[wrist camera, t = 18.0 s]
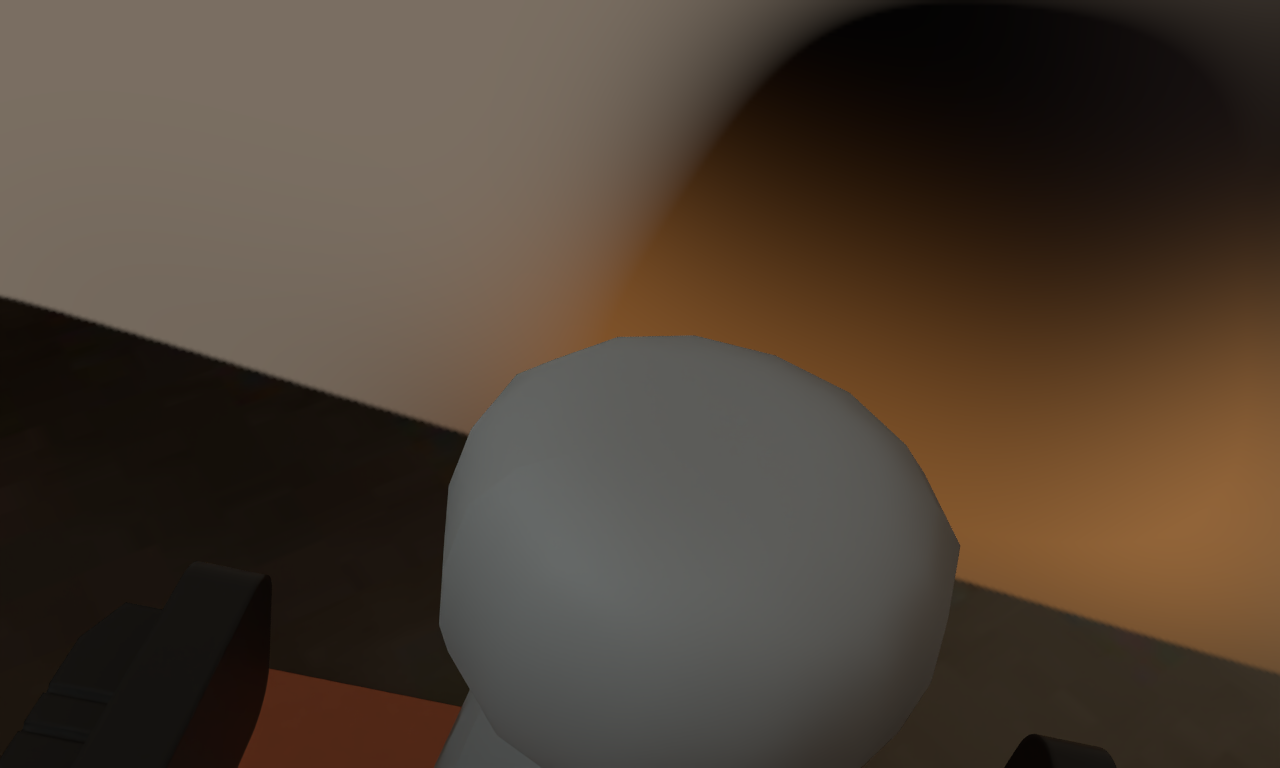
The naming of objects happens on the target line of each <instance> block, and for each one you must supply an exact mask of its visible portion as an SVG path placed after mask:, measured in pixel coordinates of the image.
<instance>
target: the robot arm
mask: <svg viewBox="0 0 1280 768" xmlns="http://www.w3.org/2000/svg"><path fill="white" fill-rule="evenodd" d="M271 596H272V583H271V578H270V576H269V575H264V574H259V573H255V572H250V571H245V570H240V569H235V568H230V567H225V566H220V565H215V564H210V563H205V562H200V561H195V562H193V563H192V564H191V565H190V566H189V567H188V568H187V570H186V571H185V573H184V574H183V576H182V577H181V579H180V581H179V582H178V584H177V586H176V588H175V589H174V591H173V593H172V594H171V596H170V598H169V600H168V601H167V603H166V605H165V606H164V608H163V610H162V609H157V608H152V607H147V606H142V605H137V604H132V603H127V602H126V603H125V604H123V605H122V606H121V607H119V608H118V609H117V610H115V611H114V612H113V613H111V614H110V615H109V616H107V617H106V618H105V619H103V620H102V621H101V622H99V623H98V624H97V625H95V626H94V627H93V628H91V629H90V630H89V631H87V632H86V633H85V634H83V635H82V636H81V637H79V638H78V640H77V642H76V643H75V645H74V646H73V648H72V649H71V651H70V652H69V654H68V655H67V657H66V658H65V660H64V661H63V663H62V665H61V666H60V668H59V669H58V671H57V672H56V674H55V675H54V677H53V678H52V680H51V681H50V683H49V688H48V690H47V692H46V693H43V694H42V695H41V697H40V698H39V700H38V701H37V703H36V704H35V706H34V707H33V709H32V711H31V712H30V714H29V715H28V717H27V718H26V720H25V721H24V727H23V729H22V731H21V732H20V731H18V732H17V734H16V735H15V737H14V738H13V740H12V741H11V743H10V744H9V746H8V747H7V749H6V750H5V752H4V753H3V755H2V757H1V758H0V768H238V766H239V764H240V761H241V759H242V757H243V754H244V752H245V750H246V748H247V745H248V743H249V741H250V738H251V736H252V734H253V731H254V729H255V726H256V723H257V721H258V717H259V714H260V711H261V708H262V704H263V700H264V697H265V692H266V687H267V682H268V675H269V654H270V625H271ZM1004 768H1116V765H1115V763H1114V761H1113V759H1112V757H1111V756H1110V754H1109V753H1108V752H1107V751H1106V750H1104V749H1103V748H1100V747H1096V746H1091V745H1086V744H1081V743H1076V742H1071V741H1066V740H1061V739H1056V738H1052V737H1047V736H1042V735H1037V734H1030V735H1028V736H1027V737H1025V738H1024V739H1023V740H1022V741H1021V743H1020V744H1019V746H1018V747H1017V749H1016V750H1015V752H1014V753H1013V755H1012V756H1011V758H1010V760H1009V761H1008V763H1007V764H1006V766H1005V767H1004Z"/></svg>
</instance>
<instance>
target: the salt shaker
mask: <svg viewBox="0 0 1280 768" xmlns="http://www.w3.org/2000/svg"><path fill="white" fill-rule="evenodd" d="M959 550H960V544H959V542H958V540H957V538H956V536H955V534H954V532H953V530H952V528H951V526H950V524H949V522H948V520H947V518H946V516H945V514H944V512H943V510H942V508H941V506H940V504H939V502H938V500H937V498H936V496H935V494H934V492H933V490H932V488H931V486H930V484H929V482H928V480H927V478H926V476H925V474H924V472H923V471H922V469H921V468H920V466H919V464H918V463H917V461H916V460H915V458H914V457H913V455H912V454H911V452H910V451H909V449H908V447H907V446H906V445H905V444H904V443H903V442H902V441H901V440H900V439H899V438H898V437H897V436H896V435H895V434H894V433H892V432H891V431H890V430H889V429H888V428H887V427H886V426H885V425H884V424H883V423H882V422H881V421H880V420H878V419H877V418H876V417H875V416H874V415H873V414H872V413H871V412H870V411H869V410H867V409H866V408H865V407H864V406H863V405H862V404H861V403H860V402H859V401H858V400H857V399H856V398H855V397H853V396H852V395H851V394H850V393H849V392H847V391H845V390H843V389H841V388H839V387H837V386H835V385H833V384H831V383H829V382H827V381H825V380H823V379H821V378H819V377H817V376H815V375H813V374H811V373H809V372H807V371H805V370H803V369H801V368H799V367H797V366H795V365H793V364H791V363H789V362H787V361H785V360H783V359H781V358H779V357H777V356H775V355H771V354H767V353H762V352H759V351H755V350H751V349H746V348H742V347H738V346H734V345H731V344H727V343H722V342H719V341H714V340H710V339H707V338H703V337H698V336H652V337H651V336H648V337H617V338H614V339H611V340H608V341H605V342H602V343H600V344H597V345H594V346H591V347H588V348H585V349H583V350H580V351H577V352H574V353H571V354H568V355H565V356H563V357H560V358H557V359H554V360H552V361H549V362H547V363H544V364H542V365H539V366H537V367H534V368H532V369H529V370H527V371H524V372H522V373H519V374H517V375H516V376H515V377H514V378H513V380H512V381H511V382H510V383H509V384H508V386H507V387H506V388H505V389H504V390H503V392H502V393H501V394H500V395H499V396H498V398H497V399H496V400H495V401H494V402H493V404H492V405H491V406H490V407H489V408H488V409H487V411H486V412H485V413H484V414H483V415H482V417H481V418H480V419H479V420H478V422H477V423H476V424H475V425H474V426H473V428H472V429H471V431H470V433H469V436H468V439H467V441H466V444H465V446H464V449H463V451H462V454H461V456H460V459H459V461H458V464H457V466H456V469H455V471H454V474H453V476H452V479H451V481H450V484H449V489H448V502H447V514H446V527H445V539H444V554H443V570H442V586H441V602H440V618H439V626H440V629H441V632H442V635H443V638H444V641H445V644H446V647H447V650H448V652H449V654H450V656H451V658H452V659H453V661H454V663H455V664H456V666H457V668H458V670H459V671H460V673H461V675H462V676H463V678H464V680H465V682H466V683H467V685H468V687H469V689H470V690H469V692H468V695H467V697H466V699H465V701H464V703H463V705H462V708H461V710H460V712H459V714H458V716H457V718H456V721H455V723H454V725H453V727H452V729H451V731H450V733H449V736H448V738H447V740H446V742H445V744H444V746H443V749H442V751H441V753H440V755H439V757H438V759H437V761H436V764H435V766H434V768H861V767H862V766H863V765H865V764H866V763H867V762H868V761H869V760H870V759H871V758H872V757H873V756H874V755H875V754H876V753H877V752H878V751H879V750H880V749H881V748H882V747H883V746H885V745H886V744H887V743H888V742H889V741H890V740H891V739H892V738H893V737H894V736H895V735H896V734H897V733H898V732H899V731H900V729H901V728H902V726H903V725H904V723H905V722H906V720H907V719H908V717H909V716H910V714H911V712H912V711H913V709H914V708H915V706H916V705H917V703H918V702H919V700H920V699H921V697H922V696H923V694H924V693H925V691H926V689H927V688H928V686H929V685H930V683H931V681H932V677H933V673H934V669H935V666H936V662H937V658H938V654H939V651H940V647H941V643H942V639H943V636H944V632H945V628H946V624H947V621H948V616H949V610H950V604H951V598H952V592H953V586H954V580H955V573H956V568H957V562H958V556H959Z"/></svg>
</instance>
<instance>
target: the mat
mask: <svg viewBox="0 0 1280 768" xmlns="http://www.w3.org/2000/svg"><path fill="white" fill-rule="evenodd" d="M461 708H462V707H459V706H454V705H449V704H444V703H439V702H434V701H429V700H424V699H419V698H414V697H409V696H404V695H399V694H394V693H389V692H384V691H379V690H374V689H369V688H364V687H359V686H354V685H349V684H344V683H339V682H334V681H329V680H324V679H319V678H314V677H309V676H304V675H299V674H294V673H289V672H284V671H279V670H274V669H269V675H268V682H267V687H266V692H265V697H264V700H263V704H262V708H261V711H260V714H259V717H258V721H257V723H256V726H255V729H254V731H253V734H252V736H251V738H250V741H249V743H248V745H247V748H246V750H245V752H244V754H243V757H242V759H241V761H240V764H239V766H238V768H434V766H435V764H436V761H437V759H438V757H439V755H440V753H441V751H442V749H443V746H444V744H445V742H446V740H447V738H448V736H449V733H450V731H451V729H452V727H453V725H454V723H455V721H456V718H457V716H458V714H459V712H460V710H461Z"/></svg>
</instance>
